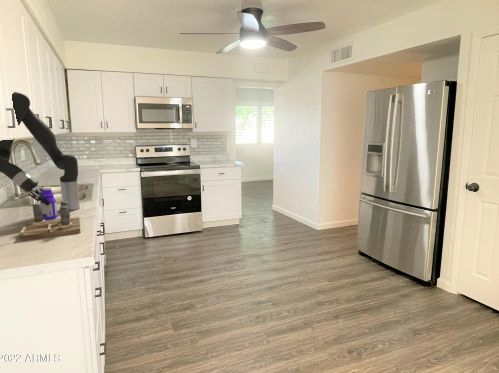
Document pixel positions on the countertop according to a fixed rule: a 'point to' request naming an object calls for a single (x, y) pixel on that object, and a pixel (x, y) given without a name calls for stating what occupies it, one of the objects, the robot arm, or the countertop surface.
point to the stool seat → (50, 224)
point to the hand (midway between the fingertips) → (51, 203)
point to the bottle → (51, 209)
